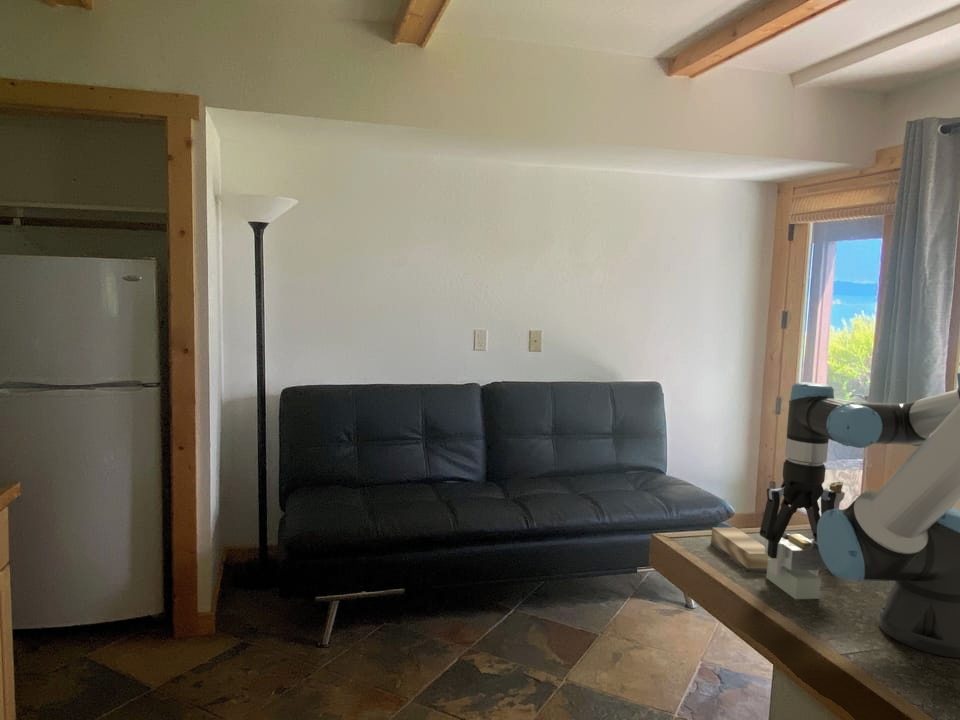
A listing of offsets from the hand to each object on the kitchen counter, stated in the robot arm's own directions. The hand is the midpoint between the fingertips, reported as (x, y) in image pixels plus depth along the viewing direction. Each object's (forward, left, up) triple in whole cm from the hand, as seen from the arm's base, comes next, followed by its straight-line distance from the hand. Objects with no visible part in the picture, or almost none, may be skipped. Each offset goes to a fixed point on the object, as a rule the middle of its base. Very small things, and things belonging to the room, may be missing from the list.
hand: (793, 572), depth 138 cm
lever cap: (0, 0, +2) cm, 2 cm away
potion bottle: (+14, -18, -3) cm, 23 cm away
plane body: (+16, +2, -3) cm, 16 cm away
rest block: (0, 0, -3) cm, 3 cm away
